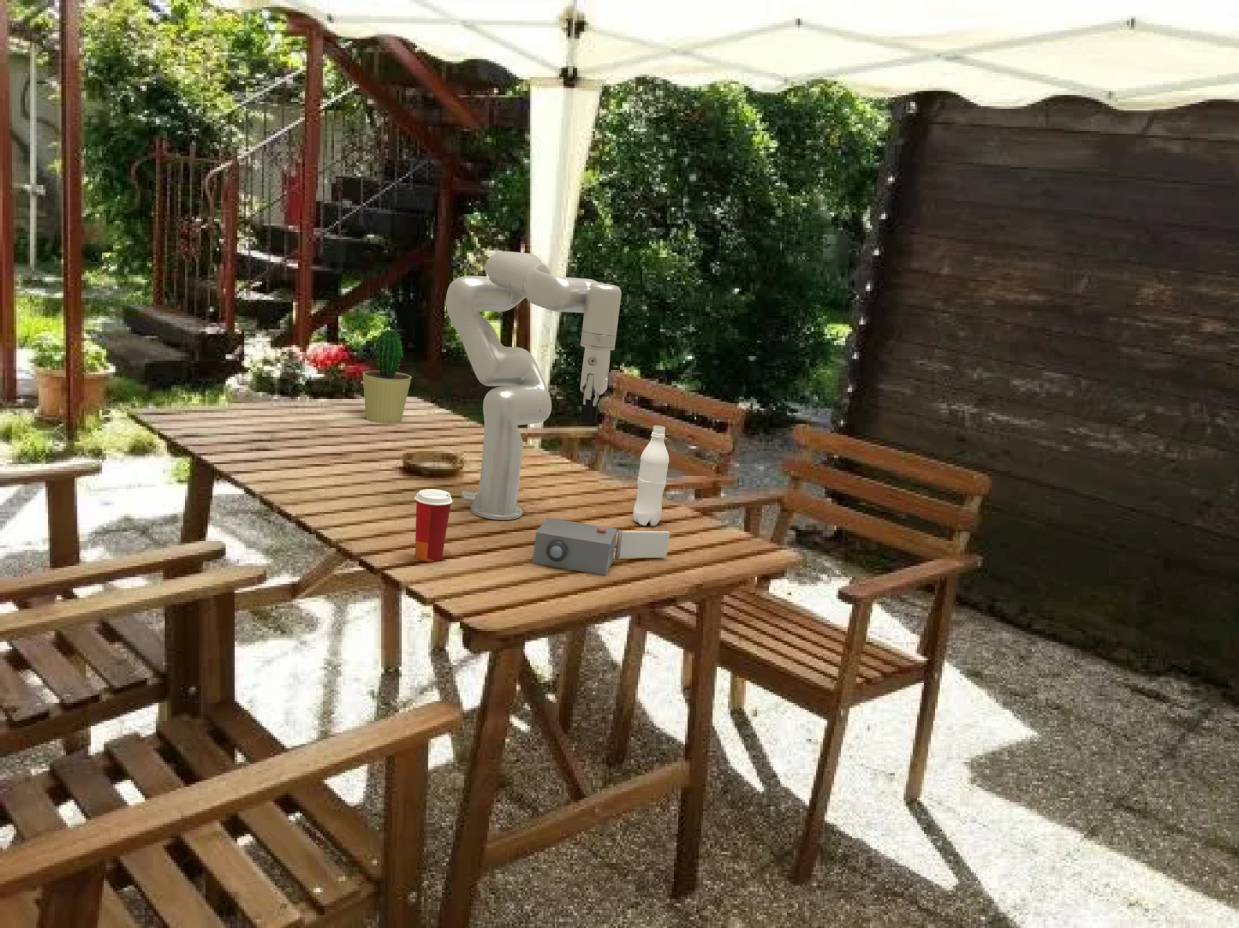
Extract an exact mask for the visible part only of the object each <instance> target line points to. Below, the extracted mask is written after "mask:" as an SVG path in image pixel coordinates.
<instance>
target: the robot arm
mask: <svg viewBox="0 0 1239 928" xmlns="http://www.w3.org/2000/svg"><path fill="white" fill-rule="evenodd" d="M484 268H485V269H484V271H485V276H484V275H465V276H460V277H458V278H455V279H454V280H452V282H450V284H449V285H448V288H447V292H446V297H445V303H446V304H445V305H446V312H447V314H448V317H449V318H448V319H449V320H450V323H451V325H452V326H453V328H454V329H455V332H456V333H457V335H458V336H459V338H460V340H461V342H462V345H463V347H464V350H465V353H466V355H467V357H468V360H469V362H470V365H471V368H472V370H473V372H474V374H475V377H476V378H477V380H478V382H480V384H482V385H483V386H486V387H494V388H492V389H490V390H489V391H488V392H487V393H486V395H485V396H484V398H483V401H482V402H483V404H482V411H483V421H484V431H483V432H484V433H483V446H482V455H481V464H480V465H481V466H480V475H479V484H478V485H479V486H478V491H474V492H472V491H467V490H462V491H461V495H460V497H461V499H463V501H466V502H472V504H470V511H471V513H472V514H473V515H476V516H478V517H481V518H484V519H489V520H496V521H497V520H498V521H509V520H510V521H511V520H516V519H519V518H521V517H522V516H523V510H522V508H521V507H520V506H518V498H519V497H518V495H519V487H520V478H521V477H520V476H521V469H522V460H523V449H524V447H523V446H524V443H523V438H522V435H521V432H520V430H519V426H522V425H533V424H534V425H535V424H539V423H543V422H545V421H546V420H548V418H549V417H550V415H551V412H552V409H553V408H552V405H553V404H552V398H551V395H550V392H549V389H548V387H547V385H546V383H545V380H544V377H543V375H542V373H541V371H540V367H539V366H538V364H537V362H536V359H535V358H534V356H533V355H532V353H530V352H529V351H528V350H527V349H524V348H523V347H520V346H504V345H503V344H502V343H501V341H500V339H499V337H498V335H497V331H496V330H495V328H494V326H493V325H492V324H491V322H489V321H488V320H487V318H485V316H483V314H481V313H480V312H498V313H499V312H500V313H501V312H503V313H504V312H506V311H509V310H511V309H513V308H515V307H516V306H517V305H519V304H520V303H521V302H522V301H523V300H524V299H526V300H527V301H528V302H529V303H530V304H532V305H535V306H537V307H540V308H542V309H545V310H548V311H552V312H557V313H581V314H583V320H582V328H581V339H580V346H581V347H582V348H584V353H583V359H582V369H581V377H580V385H579V386H580V392H582V393H584V394H583V401H582V402H583V403H582V406H581V415H580V423H583V424H591V425H595V423H596V422H597V415H598V407H599V405H598V403H599V396H600V395H603V394H604V393H605V392H606V391H607V389H608V384H609V383H608V381H609V374H610V373H609V370H610V361H611V359H610V358H611V351H615V349H616V348H615V347H616V339H617V332H618V331H617V330H618V324H619V316H620V307H621V301H622V290H621V288H620V287H619V286H617V285H614V284H607V283H603V282H599V281H596V280H595V279H590V278H581V277H570V276H569V277H566V276H565V277H564V276H555V275H552V274H551V271H550V269H549V267H548V266H547V265H546V264H545V263H544V262H542V260H541V259H540V258H539V257H538V256H536V255H535V254H533V253H529V252H520V251H519V252H518V251H516V252H515V251H506V250H504V251H498V252H495V253H493V254H491V256H490V257H489V258H487V260H486V262H485V266H484Z"/></svg>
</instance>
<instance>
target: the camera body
mask: <svg viewBox="0 0 1239 928" xmlns="http://www.w3.org/2000/svg"><path fill="white" fill-rule="evenodd" d="M617 536H618V528H615V527H614V528H613V527H608V526H602V525H596V524H595V525H594V524H589V523H583V522H577V521H572V520H564V519H559V518H558V519H557V518H554V517H553V518H551V517H546V518H545V520H544V521H543V523H542V524H541V525H540V526H539V528H538V529H537V531H536V532H535V538H534V539H535V540H534V545H533V546H534V548H533V556H532V564H536V565H540V566H541V565H542V566H547V567H552V568H553V567H554V568H560V569H565V570H571V571H577V572H583V573H589V574H595V575H600V576H601V575H602V576H606V575H607V573H608V571H609V569H610V566H611V565H612V562H613V560H614V558H615V551H616V543H617Z"/></svg>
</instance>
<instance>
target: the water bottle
mask: <svg viewBox="0 0 1239 928" xmlns="http://www.w3.org/2000/svg"><path fill="white" fill-rule="evenodd" d="M665 431H666V427H665V426H661V425H653V427H652V431H651V435H650V436H651V438H650V441H649V442H648V444H647V445H646V446H645V448H644V449H643V451H642V453H641V455H640V462H639V463H640V464H639V469H638V471H639V472H638V477H637V480H636V481H637V497H636V499H635V504H634V506H633V512H632V514H633V519H634V522H635V523H638V524H639V525H640V526H644V527H645V526H647V524H648V523H649V525H650V526H651V527H654V526H657V524H658V523H660V520H661V518H662V514H663V510H662V508H663V505H662V504H663V502H662V501H663V495H664V491H665V488H666V486H667V477H668V476H667V474H668V467H669V464H670V456H669V453H668V449H667V447H666V445H665V438H666V434H665Z"/></svg>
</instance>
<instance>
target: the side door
mask: <svg viewBox="0 0 1239 928" xmlns="http://www.w3.org/2000/svg"><path fill="white" fill-rule="evenodd" d="M670 535H671V532H670V531H664V530H662V531H659V530H658V531H657V530H655V531H654V530H653V531H651V530H649V531H648V530H647V531H646V530H645V531H644V530H621V529H617V536H616V544H615V551H614V558H615V559H617V560H618V559H620V558H621V559H622V558H623V559H626V558H627V559H628V558H632V559H633V558H634V559H635V558H638V559H639V558H641V559H642V558H646V559H649V558H650V559H651V558H653V559H654V558H657V559H658V558H660V559H661V558H664V559H665V558H667V556H668V551H669V550H668V549H669V543H670V541H669V540H670Z"/></svg>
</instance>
